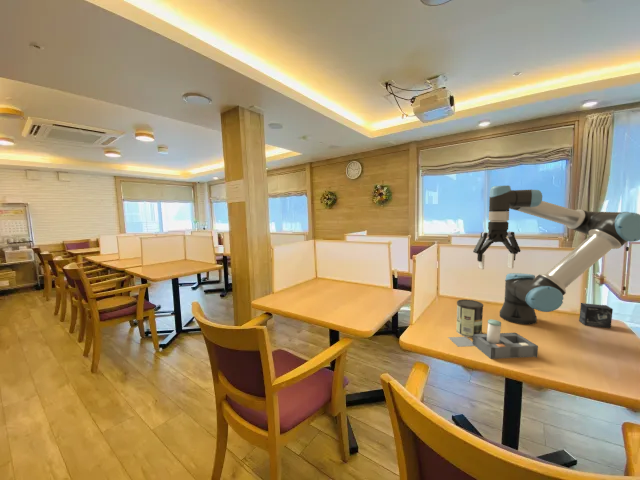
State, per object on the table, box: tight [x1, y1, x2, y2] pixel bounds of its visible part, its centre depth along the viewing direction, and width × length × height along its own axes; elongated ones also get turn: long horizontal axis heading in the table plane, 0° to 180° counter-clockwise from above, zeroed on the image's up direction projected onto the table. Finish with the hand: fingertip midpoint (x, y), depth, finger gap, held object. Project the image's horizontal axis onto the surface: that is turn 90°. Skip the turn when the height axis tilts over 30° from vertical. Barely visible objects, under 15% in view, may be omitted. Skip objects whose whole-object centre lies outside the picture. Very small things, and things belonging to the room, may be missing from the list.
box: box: [578, 302, 614, 329], centre depth 126 cm, size 9×6×10 cm, turn 68°
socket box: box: [472, 332, 539, 360], centre depth 105 cm, size 18×11×5 cm, turn 93°
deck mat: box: [447, 336, 475, 348], centre depth 113 cm, size 8×8×1 cm
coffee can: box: [455, 299, 484, 339], centre depth 120 cm, size 10×10×14 cm
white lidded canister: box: [486, 318, 502, 344], centre depth 105 cm, size 4×4×12 cm
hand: (495, 268), depth 122 cm, fingers open, 13 cm apart
